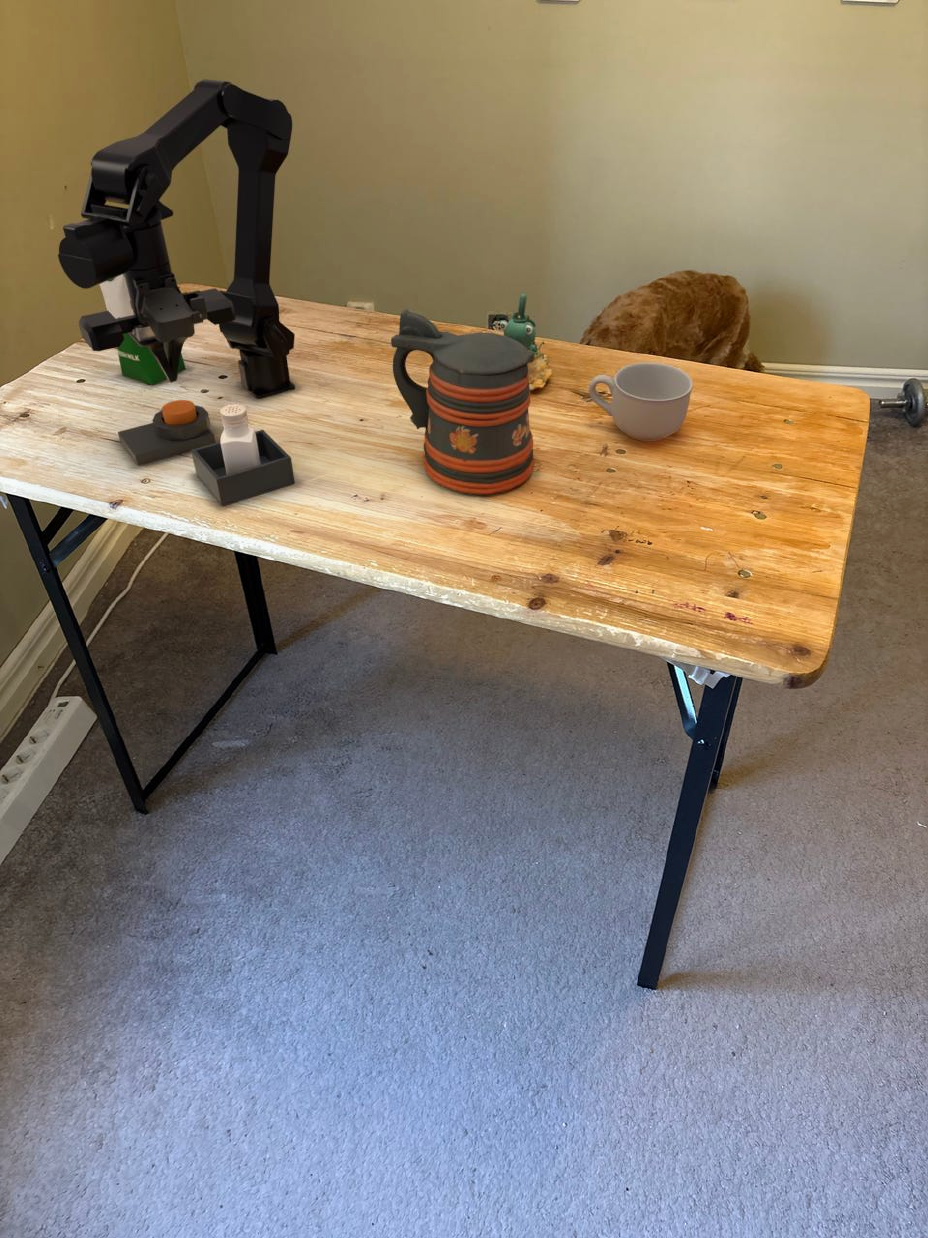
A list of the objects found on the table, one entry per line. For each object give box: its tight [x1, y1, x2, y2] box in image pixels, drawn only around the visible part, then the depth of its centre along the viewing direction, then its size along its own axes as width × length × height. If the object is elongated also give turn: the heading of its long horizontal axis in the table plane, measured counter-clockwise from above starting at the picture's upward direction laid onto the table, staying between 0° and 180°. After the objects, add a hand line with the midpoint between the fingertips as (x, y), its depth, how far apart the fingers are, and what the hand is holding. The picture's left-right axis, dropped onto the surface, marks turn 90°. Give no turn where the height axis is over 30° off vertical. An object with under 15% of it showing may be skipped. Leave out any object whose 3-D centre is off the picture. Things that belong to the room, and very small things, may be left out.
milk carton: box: [98, 274, 187, 386], centre depth 138 cm, size 9×9×20 cm
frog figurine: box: [496, 292, 553, 392], centre depth 137 cm, size 10×18×15 cm, turn 144°
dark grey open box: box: [190, 429, 296, 508], centre depth 118 cm, size 10×9×4 cm
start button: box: [161, 399, 197, 425], centre depth 125 cm, size 4×4×2 cm
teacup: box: [588, 361, 694, 442], centre depth 126 cm, size 14×11×8 cm
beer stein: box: [390, 309, 535, 496], centre depth 115 cm, size 19×15×20 cm
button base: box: [117, 404, 216, 467], centre depth 126 cm, size 12×8×4 cm
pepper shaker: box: [219, 403, 261, 474], centre depth 116 cm, size 4×4×10 cm
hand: (172, 380), depth 122 cm, fingers closed
